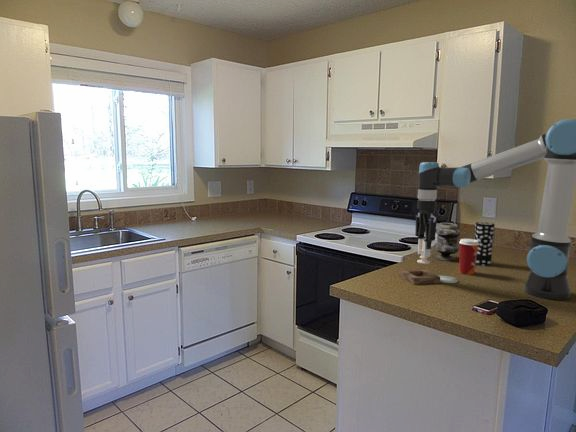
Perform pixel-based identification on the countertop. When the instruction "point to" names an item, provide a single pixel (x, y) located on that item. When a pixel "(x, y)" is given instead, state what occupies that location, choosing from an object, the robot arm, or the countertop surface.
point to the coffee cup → (468, 256)
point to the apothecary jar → (447, 241)
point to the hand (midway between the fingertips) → (423, 255)
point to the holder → (419, 276)
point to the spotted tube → (484, 242)
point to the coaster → (448, 279)
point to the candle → (423, 259)
